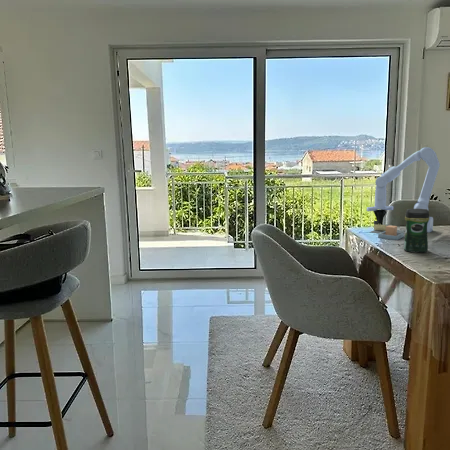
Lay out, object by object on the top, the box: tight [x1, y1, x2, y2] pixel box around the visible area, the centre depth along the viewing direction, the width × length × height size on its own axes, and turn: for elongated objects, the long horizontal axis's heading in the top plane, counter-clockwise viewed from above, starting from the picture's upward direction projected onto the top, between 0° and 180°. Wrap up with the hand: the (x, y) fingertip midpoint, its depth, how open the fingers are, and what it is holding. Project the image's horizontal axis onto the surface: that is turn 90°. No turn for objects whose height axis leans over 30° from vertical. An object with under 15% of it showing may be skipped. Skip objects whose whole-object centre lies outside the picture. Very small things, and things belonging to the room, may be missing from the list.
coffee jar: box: [403, 208, 430, 253], centre depth 172 cm, size 10×8×19 cm
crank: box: [373, 220, 392, 231], centre depth 210 cm, size 9×3×5 cm, turn 48°
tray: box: [377, 231, 405, 241], centre depth 195 cm, size 9×9×3 cm
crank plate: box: [370, 229, 406, 234], centre depth 208 cm, size 14×14×1 cm
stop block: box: [385, 224, 398, 236], centre depth 195 cm, size 4×4×6 cm
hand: (379, 223), depth 216 cm, fingers closed
